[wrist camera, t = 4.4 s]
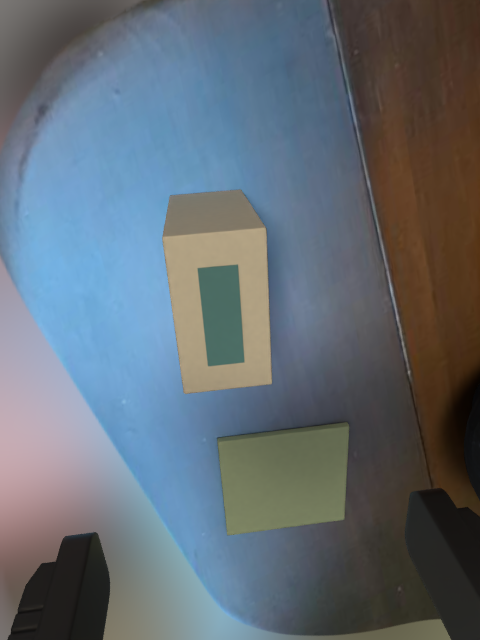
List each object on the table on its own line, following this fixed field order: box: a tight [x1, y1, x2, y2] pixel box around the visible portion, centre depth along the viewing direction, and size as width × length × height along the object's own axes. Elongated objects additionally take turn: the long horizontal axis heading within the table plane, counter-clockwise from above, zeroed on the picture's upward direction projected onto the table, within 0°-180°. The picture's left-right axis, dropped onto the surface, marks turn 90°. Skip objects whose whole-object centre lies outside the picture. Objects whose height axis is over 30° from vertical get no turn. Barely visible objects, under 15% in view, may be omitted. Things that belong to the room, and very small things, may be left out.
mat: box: [217, 422, 349, 535], centre depth 43 cm, size 12×12×1 cm
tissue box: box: [162, 190, 272, 394], centre depth 28 cm, size 5×9×11 cm, turn 4°
